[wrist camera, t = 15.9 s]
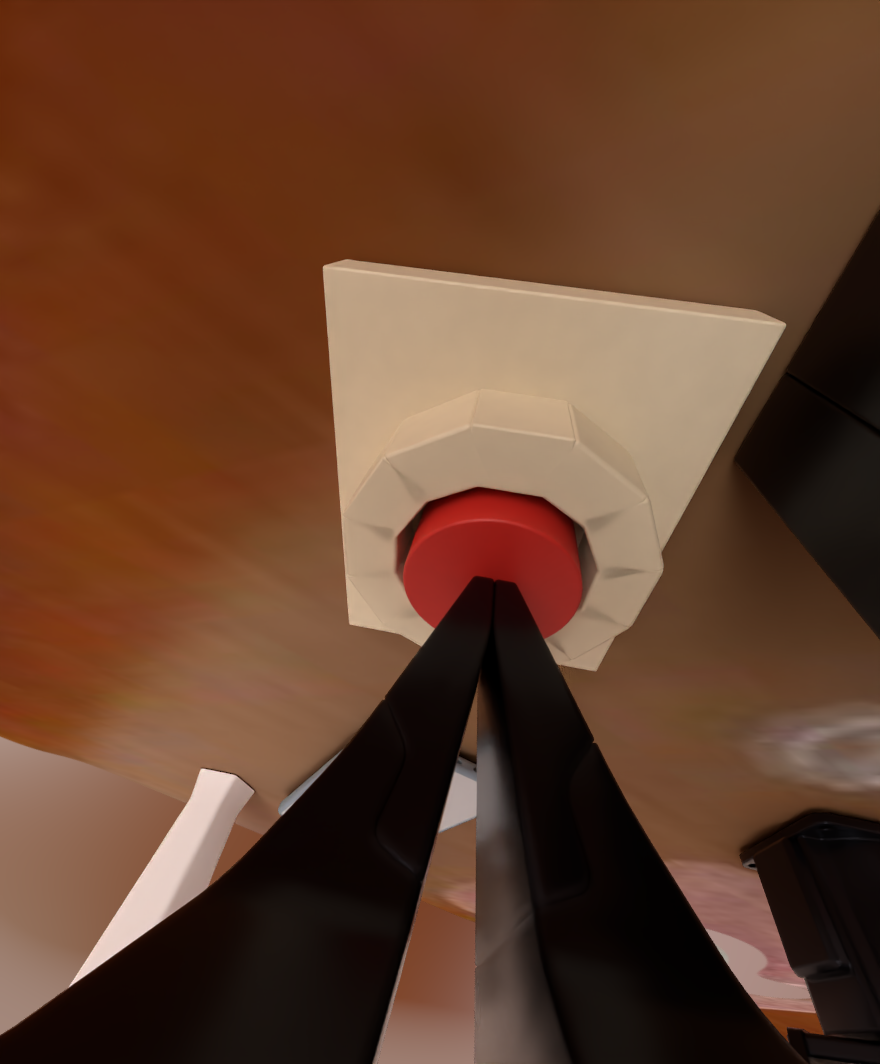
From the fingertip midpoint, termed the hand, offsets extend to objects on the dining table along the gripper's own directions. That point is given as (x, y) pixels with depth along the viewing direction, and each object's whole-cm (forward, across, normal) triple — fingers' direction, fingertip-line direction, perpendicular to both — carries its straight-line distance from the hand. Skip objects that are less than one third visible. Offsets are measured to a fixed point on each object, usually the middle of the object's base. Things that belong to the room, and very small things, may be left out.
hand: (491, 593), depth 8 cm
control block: (+4, 0, 0) cm, 4 cm away
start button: (+2, 0, 0) cm, 2 cm away
